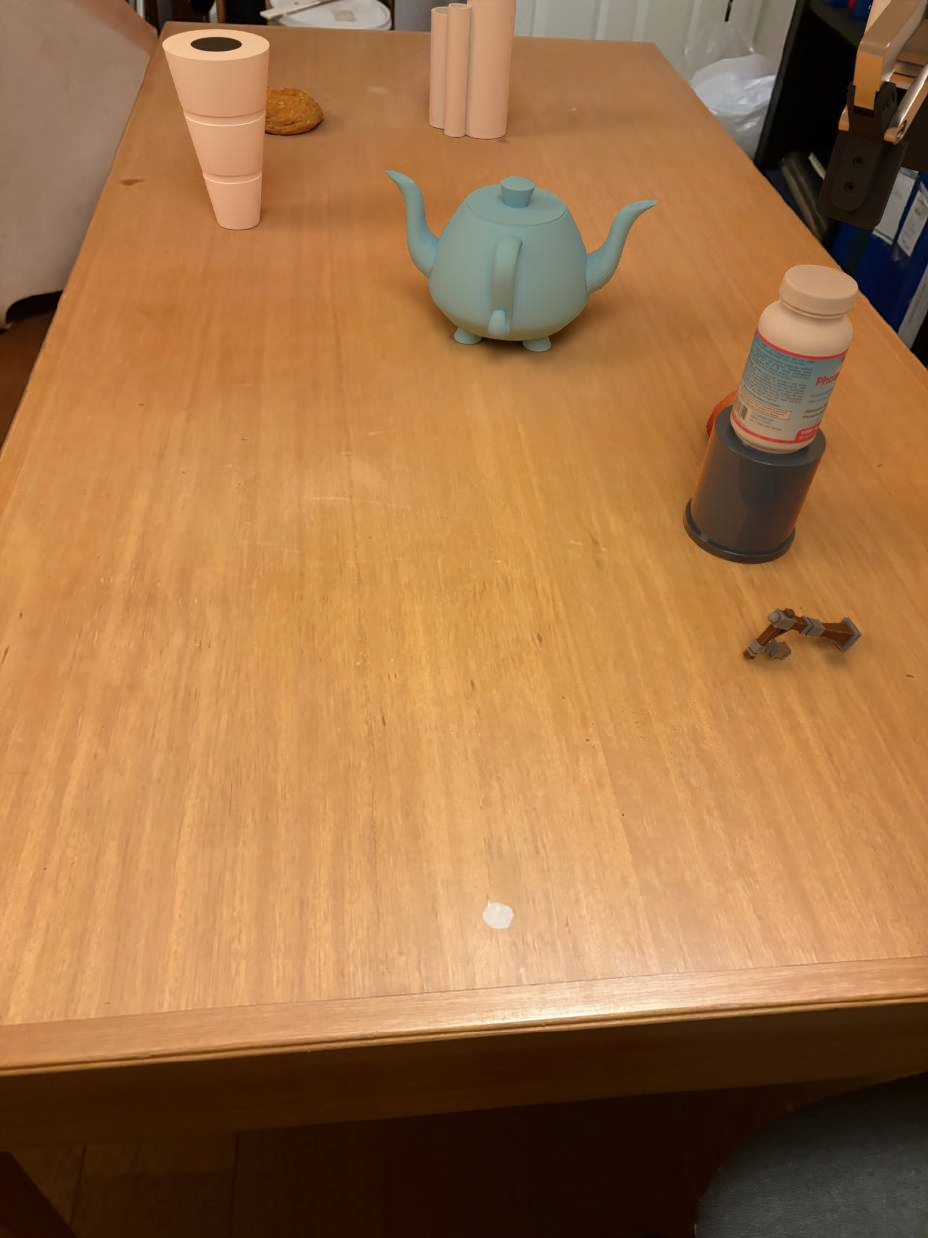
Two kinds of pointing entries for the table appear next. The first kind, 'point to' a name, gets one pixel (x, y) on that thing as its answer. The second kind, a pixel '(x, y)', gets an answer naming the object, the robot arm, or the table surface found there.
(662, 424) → the table surface
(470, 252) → the teapot
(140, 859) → the table surface
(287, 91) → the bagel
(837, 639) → the wooden post with brackets
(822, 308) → the pill bottle
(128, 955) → the table surface
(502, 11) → the vase
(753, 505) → the upturned cup
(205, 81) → the pink tapered cylinder
